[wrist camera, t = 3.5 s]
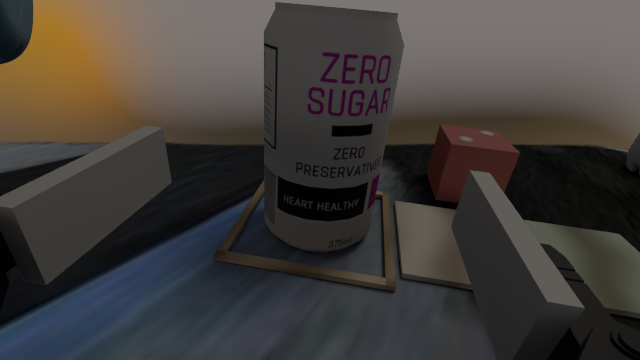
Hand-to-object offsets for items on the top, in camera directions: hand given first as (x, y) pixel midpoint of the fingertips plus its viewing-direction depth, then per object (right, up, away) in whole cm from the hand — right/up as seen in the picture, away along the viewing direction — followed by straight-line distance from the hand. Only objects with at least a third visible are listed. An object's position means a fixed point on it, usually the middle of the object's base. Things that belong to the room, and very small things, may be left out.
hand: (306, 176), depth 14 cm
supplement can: (0, -4, +12) cm, 12 cm away
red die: (+15, -1, +18) cm, 23 cm away
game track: (+10, -5, +10) cm, 15 cm away
